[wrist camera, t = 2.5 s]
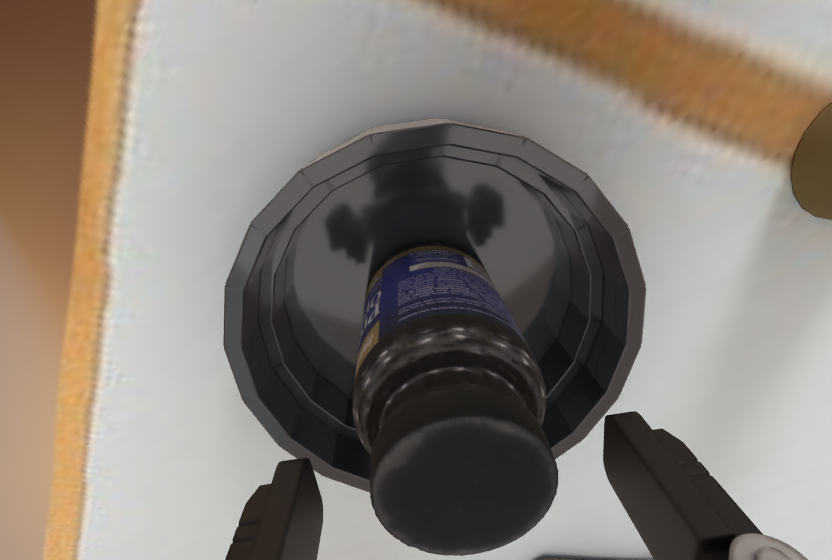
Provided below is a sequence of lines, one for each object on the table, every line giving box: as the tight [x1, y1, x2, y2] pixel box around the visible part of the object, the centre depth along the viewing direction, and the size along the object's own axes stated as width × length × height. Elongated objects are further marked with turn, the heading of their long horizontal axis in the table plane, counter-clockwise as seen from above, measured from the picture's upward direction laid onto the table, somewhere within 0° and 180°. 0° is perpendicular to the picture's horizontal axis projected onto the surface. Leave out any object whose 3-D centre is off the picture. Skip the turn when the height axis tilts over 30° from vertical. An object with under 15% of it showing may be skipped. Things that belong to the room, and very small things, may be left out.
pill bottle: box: [352, 242, 558, 556], centre depth 16 cm, size 6×6×11 cm
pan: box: [224, 118, 646, 492], centre depth 19 cm, size 16×16×5 cm
